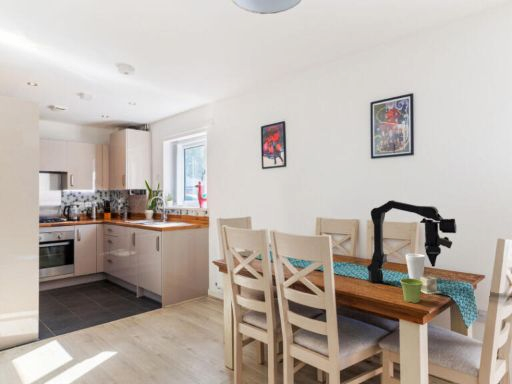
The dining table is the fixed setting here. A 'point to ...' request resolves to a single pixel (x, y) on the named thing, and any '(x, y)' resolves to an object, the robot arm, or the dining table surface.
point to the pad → (430, 292)
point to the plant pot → (411, 289)
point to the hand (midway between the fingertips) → (432, 264)
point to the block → (429, 284)
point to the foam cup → (415, 265)
